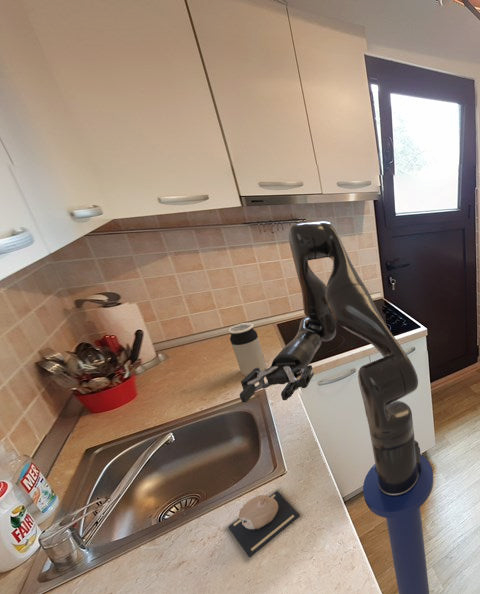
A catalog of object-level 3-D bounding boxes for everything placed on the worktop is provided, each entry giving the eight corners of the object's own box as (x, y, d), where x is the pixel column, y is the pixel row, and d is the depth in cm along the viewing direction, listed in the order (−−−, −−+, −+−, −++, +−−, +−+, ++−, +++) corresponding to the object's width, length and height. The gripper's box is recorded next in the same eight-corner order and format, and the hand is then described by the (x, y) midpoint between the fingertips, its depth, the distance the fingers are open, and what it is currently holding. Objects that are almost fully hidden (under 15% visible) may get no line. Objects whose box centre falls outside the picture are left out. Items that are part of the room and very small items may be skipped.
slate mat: (277, 491, 77) (276, 490, 77) (299, 516, 72) (299, 514, 72) (228, 527, 70) (227, 526, 70) (249, 557, 64) (248, 556, 64)
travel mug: (264, 373, 120) (251, 330, 113) (238, 378, 118) (223, 334, 111) (268, 362, 127) (256, 320, 120) (245, 366, 125) (231, 324, 118)
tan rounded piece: (248, 543, 66) (236, 517, 63) (240, 520, 71) (230, 495, 68) (283, 520, 71) (275, 494, 68) (275, 500, 75) (266, 475, 72)
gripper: (263, 346, 85) (223, 386, 70) (320, 344, 86) (293, 382, 71) (270, 370, 88) (234, 413, 73) (325, 368, 89) (300, 409, 74)
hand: (263, 398), depth 72 cm, fingers open, 8 cm apart
